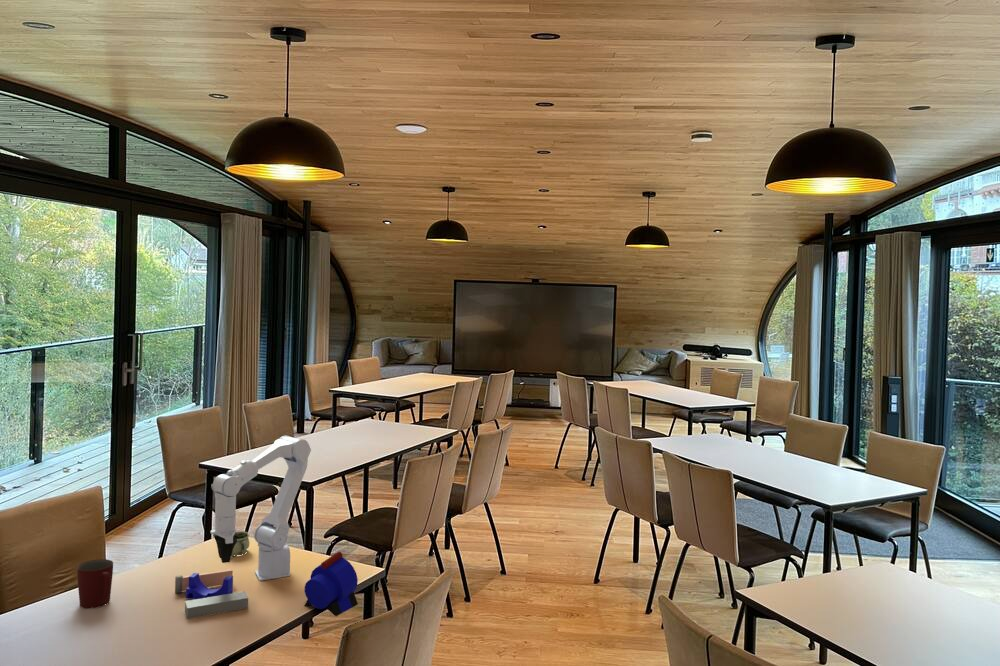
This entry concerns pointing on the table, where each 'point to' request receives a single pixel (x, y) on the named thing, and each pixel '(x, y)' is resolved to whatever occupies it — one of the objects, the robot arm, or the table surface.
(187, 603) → the grey rectangular block
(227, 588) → the blue pipe saddle
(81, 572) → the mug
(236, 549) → the vessel
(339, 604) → the blue electric motor
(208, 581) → the bar
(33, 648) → the table surface
